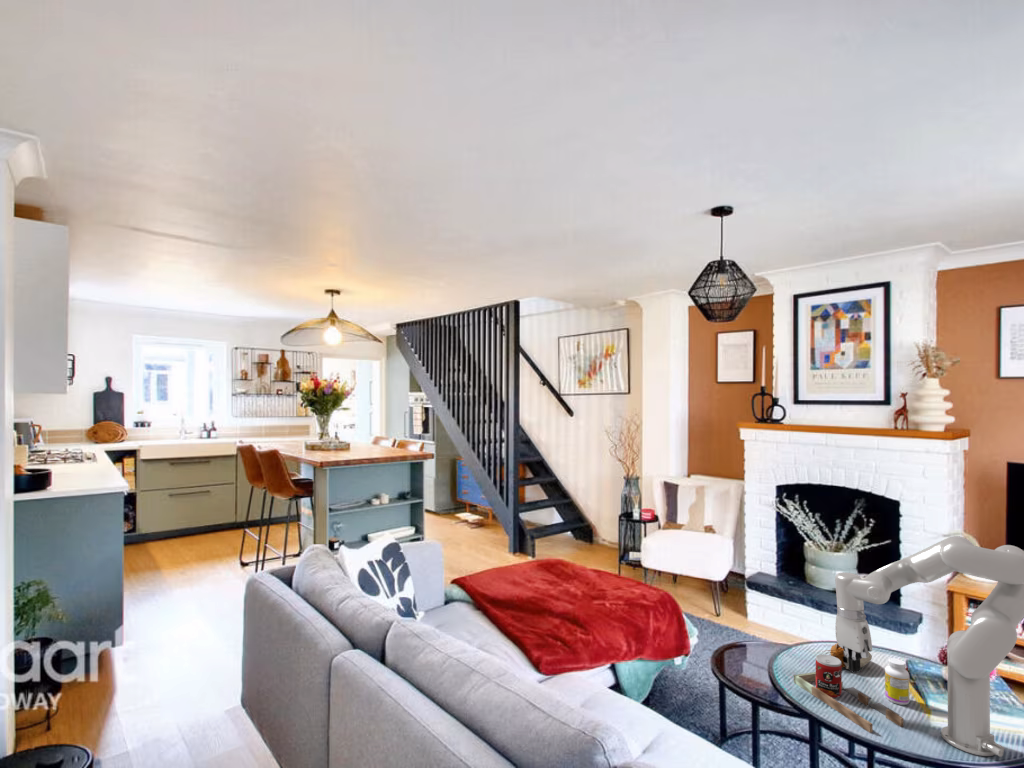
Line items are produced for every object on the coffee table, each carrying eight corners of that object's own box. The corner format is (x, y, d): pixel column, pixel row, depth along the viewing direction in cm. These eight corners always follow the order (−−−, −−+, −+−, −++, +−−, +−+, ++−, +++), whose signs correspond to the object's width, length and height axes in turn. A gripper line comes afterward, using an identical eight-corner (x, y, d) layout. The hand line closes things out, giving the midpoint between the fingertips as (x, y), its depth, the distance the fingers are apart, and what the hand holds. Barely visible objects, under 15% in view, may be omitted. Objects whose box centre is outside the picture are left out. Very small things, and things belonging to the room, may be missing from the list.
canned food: (814, 693, 186) (814, 660, 186) (816, 683, 193) (816, 651, 193) (841, 700, 182) (841, 667, 182) (841, 690, 189) (841, 657, 189)
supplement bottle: (887, 692, 188) (887, 654, 188) (911, 700, 183) (911, 661, 183) (882, 700, 183) (882, 661, 183) (907, 708, 178) (906, 668, 178)
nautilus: (832, 678, 198) (803, 661, 212) (884, 670, 201) (852, 653, 216) (830, 655, 198) (802, 639, 213) (882, 648, 202) (850, 633, 217)
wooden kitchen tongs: (914, 724, 169) (914, 716, 169) (869, 732, 165) (869, 724, 165) (833, 676, 198) (833, 669, 198) (793, 682, 194) (793, 675, 194)
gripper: (880, 619, 173) (884, 679, 172) (840, 604, 188) (844, 659, 187) (861, 622, 171) (866, 683, 170) (822, 606, 186) (826, 662, 185)
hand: (854, 670), depth 178 cm, fingers closed
